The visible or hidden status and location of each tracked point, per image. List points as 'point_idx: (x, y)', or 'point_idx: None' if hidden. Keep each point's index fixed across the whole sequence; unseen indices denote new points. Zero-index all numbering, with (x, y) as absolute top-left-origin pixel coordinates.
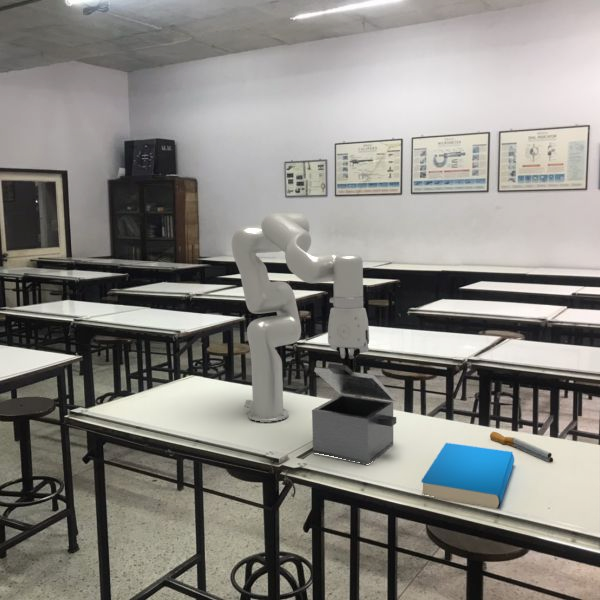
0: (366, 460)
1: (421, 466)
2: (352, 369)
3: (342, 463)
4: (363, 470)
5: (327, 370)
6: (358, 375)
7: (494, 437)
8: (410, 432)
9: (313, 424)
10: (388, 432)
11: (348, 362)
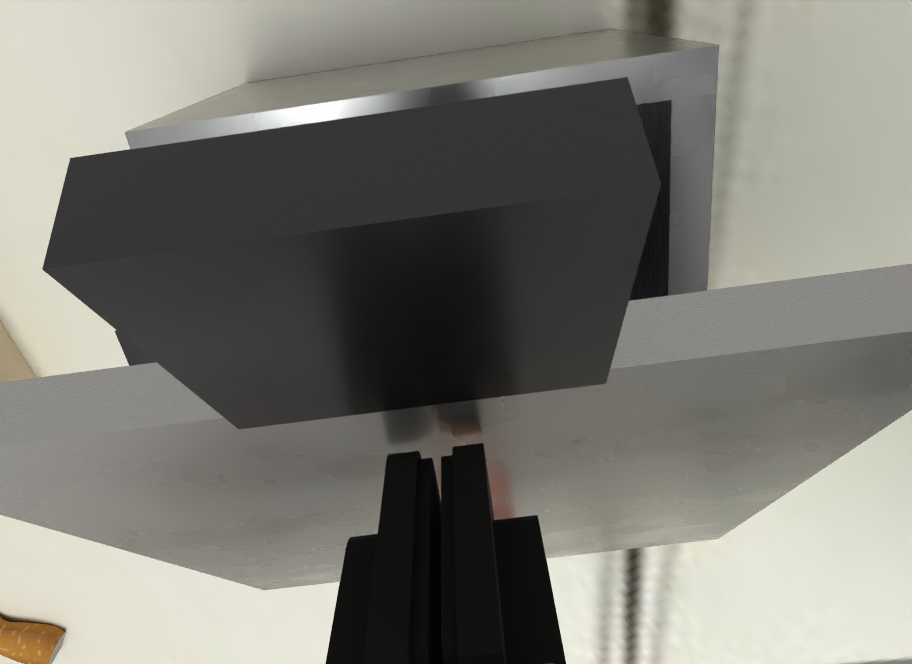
0: (247, 84)
1: (44, 244)
2: (360, 537)
3: (380, 17)
4: (219, 3)
5: (748, 324)
6: (110, 386)
7: (30, 635)
8: None
9: (660, 38)
10: None
11: (385, 600)
